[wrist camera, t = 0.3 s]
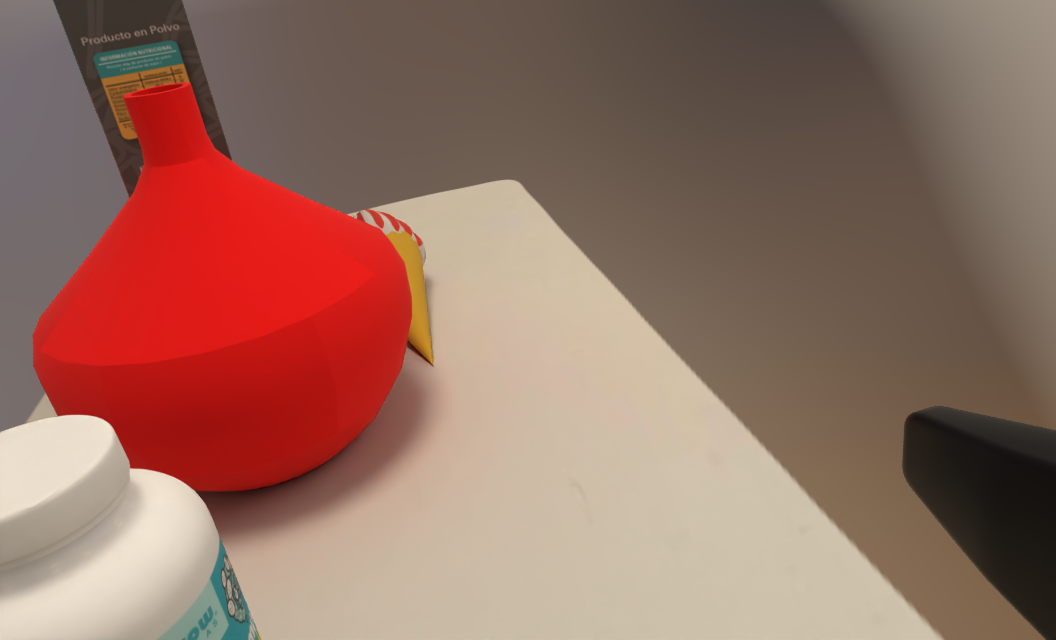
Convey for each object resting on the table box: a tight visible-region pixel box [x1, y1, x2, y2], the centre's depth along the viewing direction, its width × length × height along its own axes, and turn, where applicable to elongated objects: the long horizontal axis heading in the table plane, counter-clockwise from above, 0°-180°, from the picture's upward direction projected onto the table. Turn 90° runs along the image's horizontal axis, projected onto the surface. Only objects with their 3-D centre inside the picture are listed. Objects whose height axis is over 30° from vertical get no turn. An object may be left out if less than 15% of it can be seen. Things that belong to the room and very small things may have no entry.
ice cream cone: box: [354, 210, 434, 366], centre depth 56 cm, size 6×6×20 cm
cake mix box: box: [53, 0, 232, 198], centre depth 54 cm, size 22×6×30 cm, turn 24°
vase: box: [33, 83, 412, 491], centre depth 39 cm, size 18×18×19 cm
